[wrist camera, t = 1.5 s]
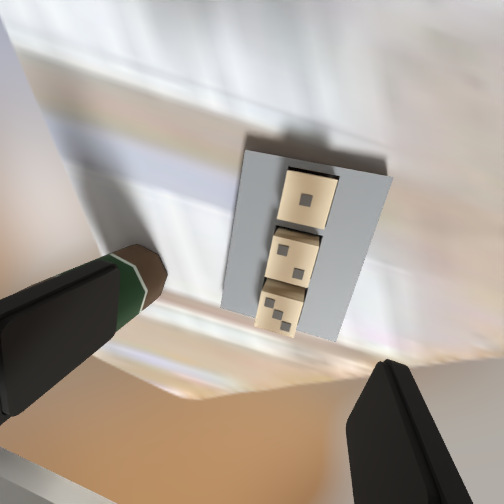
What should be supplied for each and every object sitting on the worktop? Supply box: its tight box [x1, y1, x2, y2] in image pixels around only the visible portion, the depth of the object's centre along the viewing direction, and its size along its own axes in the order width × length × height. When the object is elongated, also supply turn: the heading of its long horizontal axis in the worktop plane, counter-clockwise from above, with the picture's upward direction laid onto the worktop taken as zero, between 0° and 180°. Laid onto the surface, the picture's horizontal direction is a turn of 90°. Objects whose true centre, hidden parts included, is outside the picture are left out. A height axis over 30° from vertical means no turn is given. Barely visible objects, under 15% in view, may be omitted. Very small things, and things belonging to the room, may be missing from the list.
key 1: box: [277, 170, 338, 229], centre depth 23 cm, size 4×4×4 cm
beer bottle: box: [17, 244, 167, 332], centre depth 22 cm, size 8×8×24 cm
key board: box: [220, 150, 393, 342], centre depth 27 cm, size 13×17×2 cm
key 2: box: [265, 227, 319, 288], centre depth 25 cm, size 4×4×4 cm
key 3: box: [254, 278, 305, 338], centre depth 26 cm, size 4×4×4 cm
